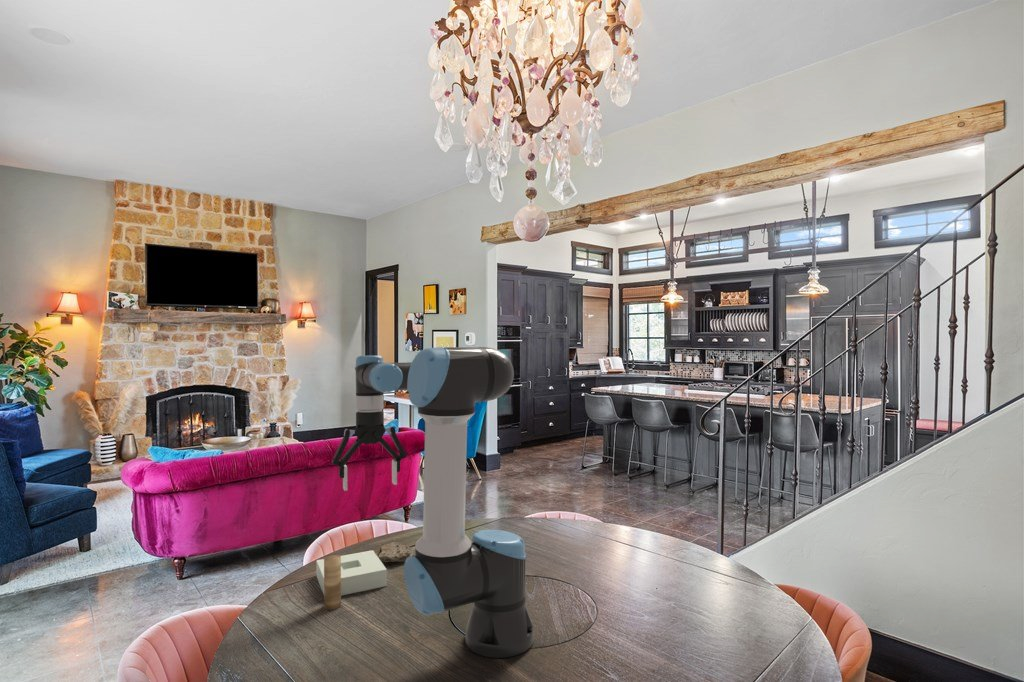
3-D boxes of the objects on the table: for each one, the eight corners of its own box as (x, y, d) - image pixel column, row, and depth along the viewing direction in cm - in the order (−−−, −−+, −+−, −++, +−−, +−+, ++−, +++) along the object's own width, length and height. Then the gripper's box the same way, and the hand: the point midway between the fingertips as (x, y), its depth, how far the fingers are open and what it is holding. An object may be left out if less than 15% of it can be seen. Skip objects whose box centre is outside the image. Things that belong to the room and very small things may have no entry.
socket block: (386, 585, 148) (386, 569, 148) (325, 598, 141) (325, 581, 141) (372, 565, 162) (372, 550, 162) (316, 576, 155) (316, 560, 155)
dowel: (342, 607, 136) (342, 559, 136) (325, 611, 134) (325, 562, 134) (339, 601, 139) (339, 554, 140) (323, 604, 138) (322, 556, 138)
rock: (409, 567, 161) (409, 553, 161) (372, 566, 161) (372, 552, 162) (417, 554, 171) (417, 540, 171) (383, 553, 172) (383, 540, 172)
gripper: (409, 406, 161) (410, 478, 161) (321, 411, 150) (321, 488, 150) (417, 409, 155) (417, 484, 154) (324, 414, 144) (325, 495, 143)
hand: (370, 486), depth 152 cm, fingers open, 13 cm apart
